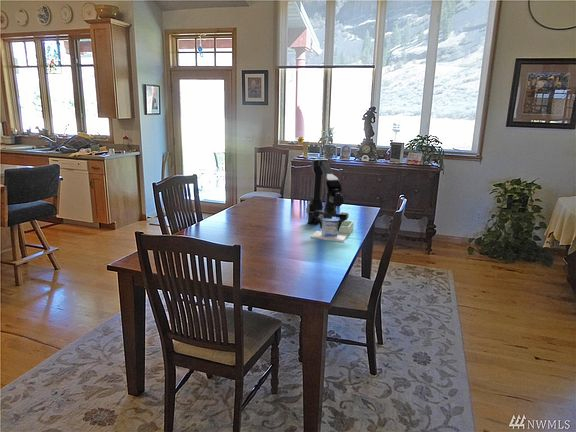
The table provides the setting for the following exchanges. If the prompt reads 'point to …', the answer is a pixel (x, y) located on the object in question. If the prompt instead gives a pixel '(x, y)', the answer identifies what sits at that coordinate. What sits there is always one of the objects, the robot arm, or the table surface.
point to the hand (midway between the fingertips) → (329, 230)
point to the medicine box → (329, 227)
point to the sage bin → (346, 227)
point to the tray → (333, 238)
